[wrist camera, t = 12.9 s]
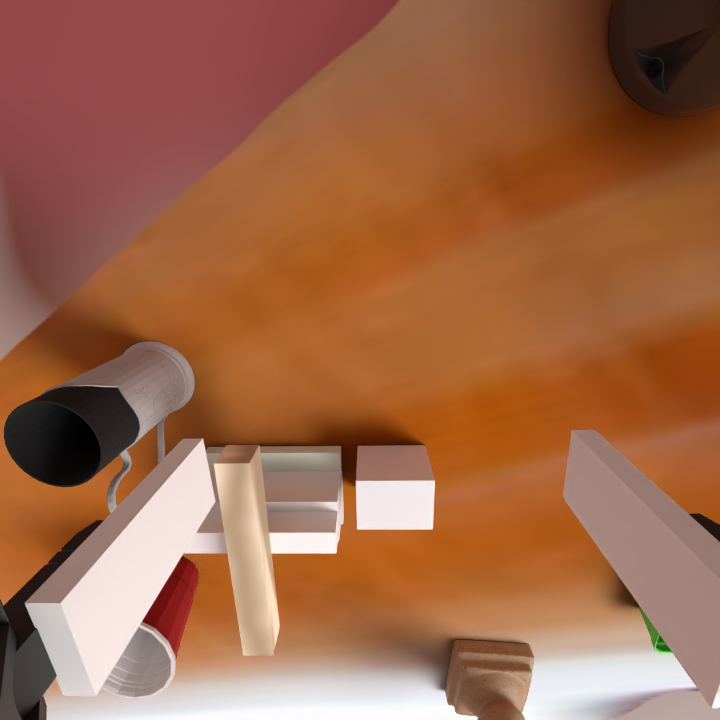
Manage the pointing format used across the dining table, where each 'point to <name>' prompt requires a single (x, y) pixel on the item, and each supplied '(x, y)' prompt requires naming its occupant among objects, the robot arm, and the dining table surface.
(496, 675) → the candle holder
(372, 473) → the rest block
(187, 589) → the plastic cup
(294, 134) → the dining table surface
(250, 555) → the birch batten
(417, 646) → the dining table surface
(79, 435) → the glass holder
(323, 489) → the ridge stand
